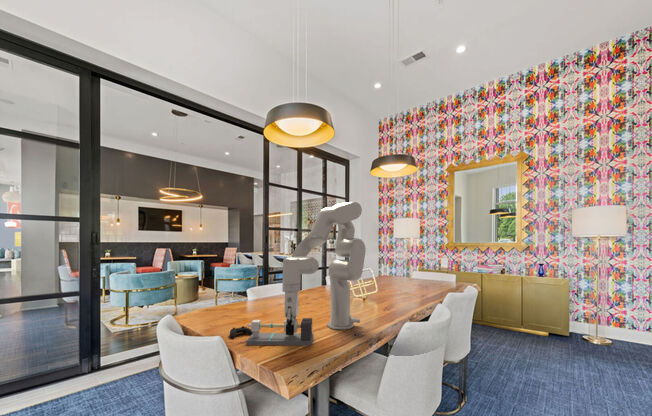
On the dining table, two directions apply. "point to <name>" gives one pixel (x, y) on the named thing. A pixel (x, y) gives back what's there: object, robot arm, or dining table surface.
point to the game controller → (240, 331)
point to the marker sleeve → (295, 322)
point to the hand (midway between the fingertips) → (290, 331)
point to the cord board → (281, 334)
